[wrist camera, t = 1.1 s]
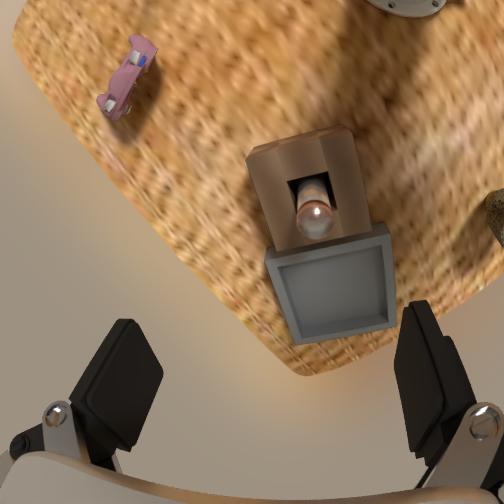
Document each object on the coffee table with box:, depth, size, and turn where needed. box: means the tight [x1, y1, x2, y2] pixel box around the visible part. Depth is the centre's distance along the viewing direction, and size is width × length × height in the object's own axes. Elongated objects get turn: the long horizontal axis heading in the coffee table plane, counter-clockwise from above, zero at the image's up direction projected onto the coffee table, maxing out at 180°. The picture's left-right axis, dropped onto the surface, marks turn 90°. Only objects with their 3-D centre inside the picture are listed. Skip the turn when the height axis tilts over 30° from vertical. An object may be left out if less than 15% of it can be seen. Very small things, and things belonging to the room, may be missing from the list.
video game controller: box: [97, 35, 158, 121], centre depth 27 cm, size 10×5×7 cm, turn 144°
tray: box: [265, 222, 397, 345], centre depth 39 cm, size 15×15×3 cm
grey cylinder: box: [297, 173, 334, 240], centre depth 28 cm, size 3×3×12 cm
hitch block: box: [245, 124, 372, 252], centre depth 30 cm, size 10×10×6 cm
